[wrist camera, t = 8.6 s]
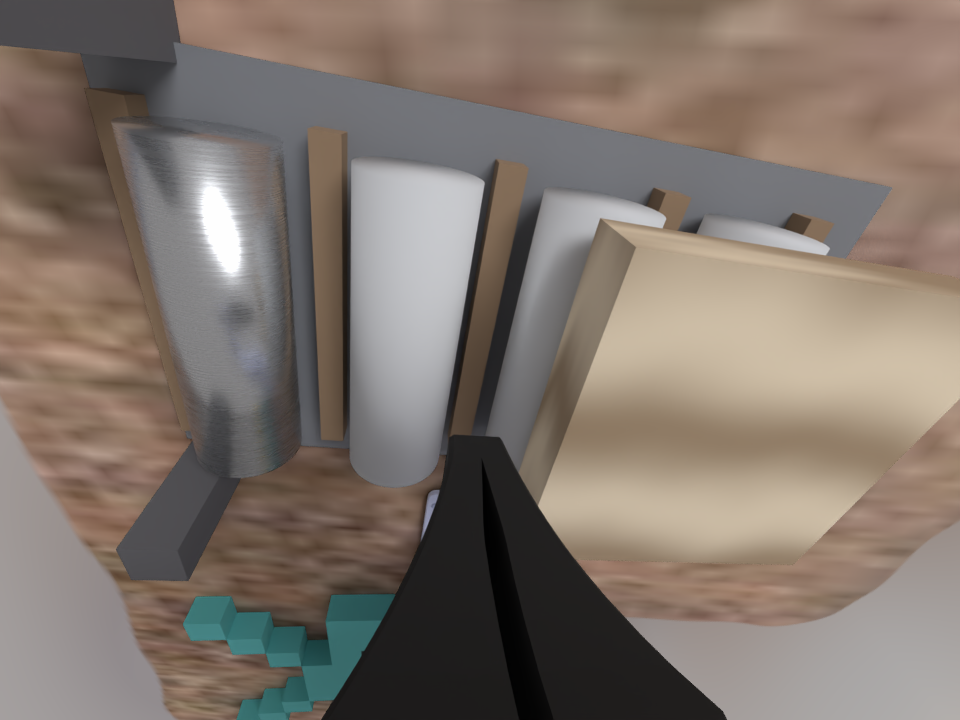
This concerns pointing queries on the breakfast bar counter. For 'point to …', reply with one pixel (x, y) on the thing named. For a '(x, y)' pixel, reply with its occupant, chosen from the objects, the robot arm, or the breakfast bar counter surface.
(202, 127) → the loose roller
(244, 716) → the alien figure
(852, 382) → the slab
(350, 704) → the robot arm
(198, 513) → the roller bed
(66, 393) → the breakfast bar counter surface
